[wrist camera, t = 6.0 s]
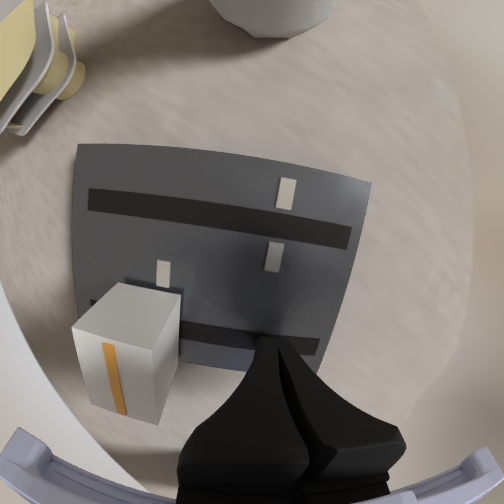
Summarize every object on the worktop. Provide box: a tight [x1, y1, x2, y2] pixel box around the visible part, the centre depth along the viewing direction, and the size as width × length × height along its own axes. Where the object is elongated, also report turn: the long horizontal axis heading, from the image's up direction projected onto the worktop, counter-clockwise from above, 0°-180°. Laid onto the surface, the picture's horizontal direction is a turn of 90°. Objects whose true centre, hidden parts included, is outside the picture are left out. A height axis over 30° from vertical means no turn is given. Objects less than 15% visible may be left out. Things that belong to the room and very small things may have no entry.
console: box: [72, 144, 372, 374], centre depth 12 cm, size 10×13×2 cm
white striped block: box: [72, 282, 181, 425], centre depth 10 cm, size 4×3×4 cm
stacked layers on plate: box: [0, 0, 86, 136], centre depth 8 cm, size 10×9×6 cm
